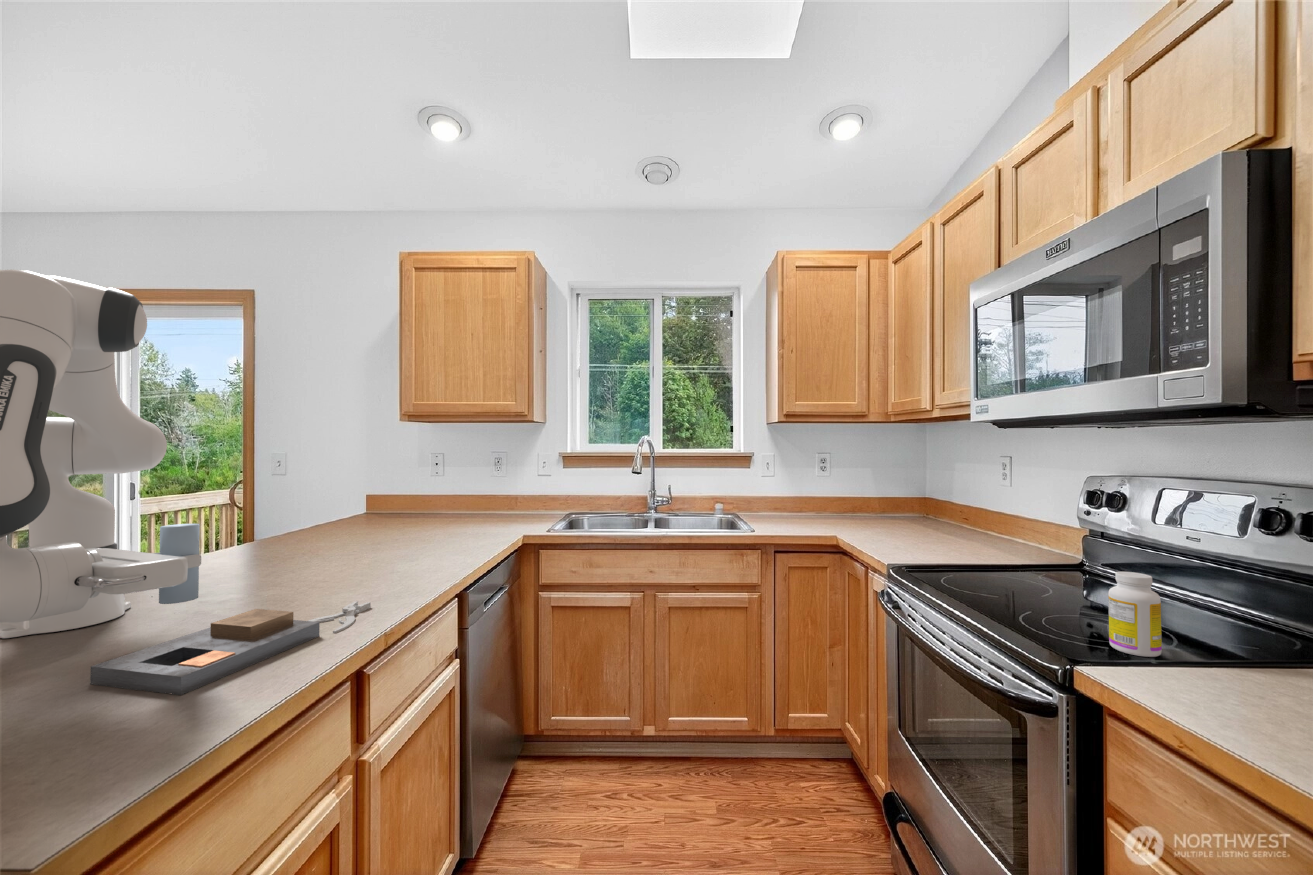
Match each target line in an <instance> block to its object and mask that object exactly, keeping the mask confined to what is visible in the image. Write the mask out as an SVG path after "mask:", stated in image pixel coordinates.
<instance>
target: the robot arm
mask: <svg viewBox="0 0 1313 875" xmlns="http://www.w3.org/2000/svg"><path fill="white" fill-rule="evenodd" d="M147 328H148V318H147V314H146V312H145V310H144V306H143V304H142V302H141V301H140V300H139V299H138V298H137V297H136V296H135V295H134V294H131V293H129V292H126V291H124V290H121V289H118V288H115V287H114V288H113V287H112V286H111V287H108V288H106V287H103V286H99V285H97V284H93V283H89V282H84V281H82V280H81V281H80V280H77V279H72V278H67V277H63V276H62V277H61V276H57V275H45V274H40V273H37V272H34V271H30V270H24V269H23V270H22V269H0V638H1V639H10V638H17V637H23V636H28V635H37V634H46V633H54V632H60V631H61V632H62V631H67V630H73V629H79V628H80V629H81V628H85V627H89V626H93V625H97V624H102V623H105V622H108V621H111V620H115V619H117V618H119V617H121V616H123V615H124V614H125V613H126V611H127V610H129V609H130V608H132V604H131V601H126V596H125V594H133V593H139V592H145V591H146V592H147V591H152V590H157V589H158V590H159V588H165V587H170V586H176V585H179V584H182V583H184V582H186V580H187V572H188V568H193V567H198V566H199V567H200V566H201V565H202V555H201V554H200V553H199V554H189V555H182V556H181V557H179V556H171V555H162V554H160V552H145V551H144V552H142V551H135V550H126V549H119V548H118V543H116V542H115V527H116V526H115V524H116V522H115V521H116V520H115V517H116V516H115V515H116V510H115V507H114V505H113V503H112V502H111V501H109V499H107V498H105V497H103V496H101V495H98V494H95V493H93V492H88V491H87V490H86V491H85V490H82V489H79V488H76V487H75V486H73V485H72V484H71V482H70V480H69V479H70V477H71V476H76V475H107V474H108V475H111V474H115V475H116V474H128V473H134V472H141V471H146V470H151V469H154V468H155V467H157V465H158V464H160V463H161V461H162V460H163V459H164V457H165V456H166V453H167V448H168V442H167V439H166V438H167V437H166V436H165V434H164V433H163V431H162V430H161V429H160V428H159V427H158V426H157V425H156V424H154V423H152V422H150V421H148V420H145V419H144V418H142V417H141V416H139V415H138V414H136V413H135V412H133V411H132V410H131V409H130V408H129V407H128V406H127V405H126V404H125V403H124V401H123V400H122V399H121V397H120V393H119V391H118V387H117V380H116V367H115V364H116V362H115V353H123V352H124V353H125V352H128V351H129V352H130V351H131V350H133V349H135V348H136V347H138V346H139V344H140V342H141V341H142V339H143V338H144V336H145V334H146V333H147ZM49 411H51V412H53V413H56V414H59V415H62V416H48V414H49ZM64 416H65V417H64ZM26 526H28V539H29V540H28V547H20V548H13V547H11V546H9V544H8V539H7V538H8V537H7V536H8V535H10V534H12V533H15V532H16V531H18V530H20V529H22V528H24V527H26Z"/></svg>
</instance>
